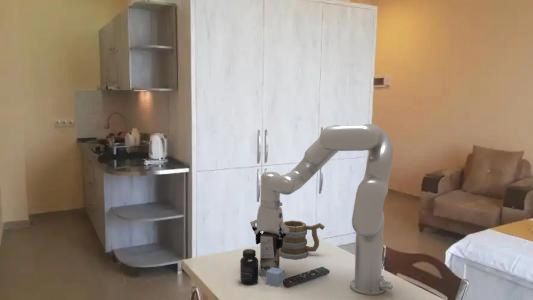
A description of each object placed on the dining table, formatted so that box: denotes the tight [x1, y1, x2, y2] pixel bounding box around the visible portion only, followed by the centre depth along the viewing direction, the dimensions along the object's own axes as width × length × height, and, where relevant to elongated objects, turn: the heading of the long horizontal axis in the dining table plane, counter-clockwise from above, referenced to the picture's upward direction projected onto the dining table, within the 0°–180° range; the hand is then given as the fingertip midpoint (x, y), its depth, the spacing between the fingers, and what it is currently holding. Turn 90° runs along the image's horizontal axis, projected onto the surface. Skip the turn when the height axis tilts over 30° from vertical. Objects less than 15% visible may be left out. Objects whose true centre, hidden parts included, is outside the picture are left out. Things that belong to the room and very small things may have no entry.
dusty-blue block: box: [265, 267, 285, 288], centre depth 164 cm, size 5×5×5 cm
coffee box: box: [259, 231, 281, 277], centre depth 174 cm, size 9×6×16 cm
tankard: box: [280, 220, 325, 260], centre depth 193 cm, size 20×13×15 cm, turn 73°
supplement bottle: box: [239, 248, 259, 286], centre depth 165 cm, size 7×7×12 cm
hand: (268, 245), depth 174 cm, fingers open, 9 cm apart
